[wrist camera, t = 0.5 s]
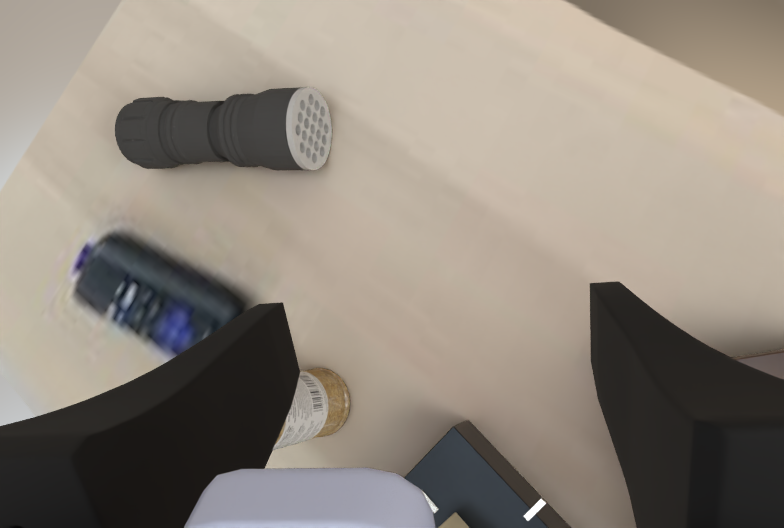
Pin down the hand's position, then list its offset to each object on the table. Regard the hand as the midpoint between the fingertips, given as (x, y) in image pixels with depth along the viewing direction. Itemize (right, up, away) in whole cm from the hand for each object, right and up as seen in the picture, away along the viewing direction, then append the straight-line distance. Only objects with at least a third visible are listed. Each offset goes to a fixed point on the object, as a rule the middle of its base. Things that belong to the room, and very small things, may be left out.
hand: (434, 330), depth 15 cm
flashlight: (-12, +11, +32) cm, 36 cm away
